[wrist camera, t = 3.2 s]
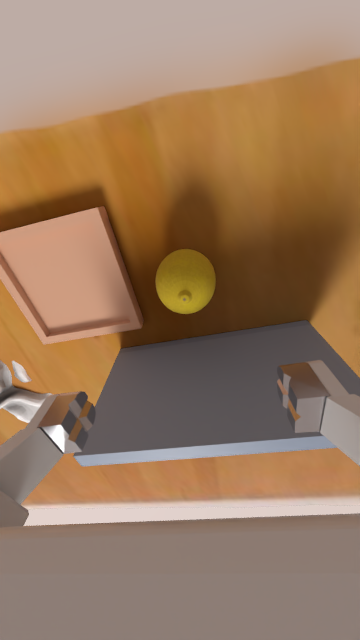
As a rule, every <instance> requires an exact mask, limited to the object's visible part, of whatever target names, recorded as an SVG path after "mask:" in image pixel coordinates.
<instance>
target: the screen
mask: <svg viewBox="0 0 360 640" xmlns="http://www.w3.org/2000/svg"><path fill="white" fill-rule="evenodd" d="M316 360H321V361H323V362H324V363H325V365H326V366H327V367H328V368H329V370H330V371H331V372H332V373H333V375H334V376H335V377H336V378H337V380H338V381H339V382H340V383H341V385H342V386H343V387H344V388H345V390H346V391H347V392H348V393H349V394H355V395H357V396H359V397H360V378H359V377H358V376H357V375H356V374H355V373H354V371H353V370H352V369H351V368H350V367H349V366H348V365H347V364H346V363H345V362H344V360H343V359H342V358H341V357H340V356H339V355H338V354H337V353H336V352H335V351H334V349H333V348H332V347H331V346H330V345H329V344H328V343H327V342H326V341H325V339H324V338H323V337H322V336H321V335H320V334H319V333H318V332H317V331H316V330H315V328H314V327H313V326H312V325H311V324H310V323H309V322H308V321H307V320H304V321H297V322H291V323H284V324H278V325H271V326H265V327H259V328H252V329H246V330H239V331H233V332H226V333H220V334H213V335H207V336H200V337H194V338H187V339H181V340H174V341H168V342H161V343H155V344H148V345H142V346H135V347H129V348H122V349H120V351H119V354H118V356H117V358H116V360H115V363H114V365H113V367H112V370H111V372H110V374H109V376H108V379H107V381H106V383H105V385H104V388H103V390H102V392H101V395H100V397H99V399H98V401H97V404H96V406H95V411H96V416H95V421H94V424H93V426H92V427H91V428H90V429H89V430H88V431H87V432H88V435H89V436H88V438H87V441H86V443H85V446H84V448H83V451H82V452H75V453H74V456H73V457H74V458H75V459H76V460H77V461H78V463H79V464H80V465H81V466H95V465H108V464H122V463H135V462H149V461H162V460H176V459H189V458H203V457H216V456H230V455H243V454H257V453H270V452H284V451H298V450H311V449H325V448H338V447H336V446H335V445H334V444H333V443H332V442H331V441H329V440H328V439H327V438H326V437H325V436H324V435H322V434H321V433H320V431H319V432H302V433H294V430H293V428H292V426H291V424H290V421H289V419H288V417H287V409H286V408H285V407H284V406H283V405H282V403H281V401H280V398H279V395H278V390H277V381H278V380H279V379H280V378H279V376H278V374H277V368H278V366H280V365H287V364H294V363H301V362H308V361H316Z"/></svg>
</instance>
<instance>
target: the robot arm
mask: <svg viewBox="0 0 360 640" xmlns="http://www.w3.org/2000/svg"><path fill="white" fill-rule="evenodd" d="M277 374H278V376H279V378H280V379H279V380H278V381H277V390H278V395H279V398H280V401H281V403H282V405H283V406H284V407H285V408H286V409H287V417H288V419H289V421H290V424H291V426H292V428H293V430H294V433H302V432H319V431H320V433H321V434H322V435H324V436H325V437H326V438H327V439H328V440H329V441H331V442H332V443H333V444H334V445H335V446H336V447H338V448H339V449H340V450H341V451H342V452H344V453H345V454H346V455H347V456H348V457H349V458H351V459H352V460H353V461H354V462H355V463H357V464H358V465H359V466H360V397H359V396H357V395H355V394H349V393H348V392H347V391H346V390H345V388H344V387H343V386H342V385H341V383H340V382H339V381H338V380H337V378H336V377H335V376H334V375H333V373H332V372H331V371H330V370H329V368H328V367H327V366H326V365H325V363H324V362H323V361H321V360H316V361H308V362H301V363H294V364H287V365H280V366H278V368H277ZM87 399H88V396H87V395H86V393H85V392H72V393H62V394H54V395H50V396H48V397H47V398H46V399H45V401H44V402H43V403H42V405H41V406H40V408H39V409H38V411H37V412H36V413H35V415H34V416H33V418H32V419H31V421H30V422H29V424H28V425H27V426H26V428H25V429H23V430H20V431H19V432H18V433H16V434H15V435H14V436H12V437H11V438H10V439H9V440H7V441H6V442H5V443H3V444H2V445H1V446H0V640H360V514H335V515H334V514H333V515H308V516H280V517H255V518H254V517H253V518H226V519H203V520H202V519H200V520H174V521H147V522H121V523H95V524H68V525H45V526H44V525H42V526H23V525H24V523H25V521H26V519H27V517H28V515H29V513H28V510H27V509H25V508H24V507H23V506H21V503H22V502H23V501H24V500H25V499H26V498H27V496H28V495H29V494H30V493H31V492H32V491H33V490H34V488H35V487H36V486H37V485H38V484H39V483H40V481H41V480H42V479H43V478H44V477H45V476H46V475H47V473H48V472H49V471H50V470H51V469H52V468H53V466H54V465H55V464H56V463H57V462H58V461H59V459H60V458H61V457H62V456H63V454H66V453H75V452H82V451H83V448H84V446H85V443H86V441H87V438H88V436H89V435H88V432H87V431H88V430H89V429H90V428H91V427H92V426H93V424H94V421H95V416H96V411H95V407H94V406H93V404H92V403H90V402H89V401H87Z"/></svg>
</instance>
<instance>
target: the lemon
mask: <svg viewBox="0 0 360 640" xmlns="http://www.w3.org/2000/svg"><path fill="white" fill-rule="evenodd" d="M155 281H156V290H157V293H158V296H159V298H160V300H161V301H162V303H163V304H164V305H165V306H166V307H167V308H168V309H170V310H172V311H174V312H176V313H180V314H190V313H195V312H197V311H199V310H201V309H202V308H204V307H205V306H206V305H207V304H208V303H209V301H210V300H211V298H212V296H213V294H214V290H215V286H216V275H215V272H214V269H213V266H212V264H211V263H210V261H209V260H208V258H206V257H205V256H204V255H203V254H202V253H200V252H198V251H195V250H191V249H180V250H177V251H174V252H172V253H171V254H169V255H168V256H166V257H165V259H164V260H163V261H162V262H161V264H160V266H159V268H158V270H157V274H156V279H155Z"/></svg>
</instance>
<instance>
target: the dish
mask: <svg viewBox="0 0 360 640" xmlns="http://www.w3.org/2000/svg"><path fill="white" fill-rule="evenodd" d="M0 279H1V281H2V282H3V284H4V285H5V287H6V288H7V290H8V291H9V293H10V294H11V296H12V297H13V299H14V300H15V302H16V303H17V305H18V306H19V308H20V309H21V311H22V312H23V314H24V315H25V317H26V318H27V320H28V321H29V323H30V325H31V326H32V328H33V329H34V331H35V332H36V334H37V335H38V337H39V338H40V340H41V341H42V343H43V344H50V343H56V342H62V341H68V340H74V339H80V338H86V337H92V336H98V335H104V334H110V333H116V332H122V331H128V330H134V329H140V328H142V325H143V322H144V319H143V316H142V313H141V310H140V307H139V304H138V302H137V299H136V296H135V293H134V290H133V287H132V284H131V281H130V279H129V276H128V273H127V270H126V267H125V264H124V261H123V259H122V256H121V253H120V250H119V247H118V244H117V241H116V238H115V236H114V233H113V230H112V227H111V224H110V221H109V218H108V216H107V213H106V210H105V207H104V206H102V207H97V208H93V209H89V210H85V211H81V212H77V213H73V214H69V215H65V216H62V217H58V218H54V219H50V220H46V221H42V222H38V223H34V224H30V225H27V226H23V227H19V228H15V229H11V230H7V231H3V232H0Z"/></svg>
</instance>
